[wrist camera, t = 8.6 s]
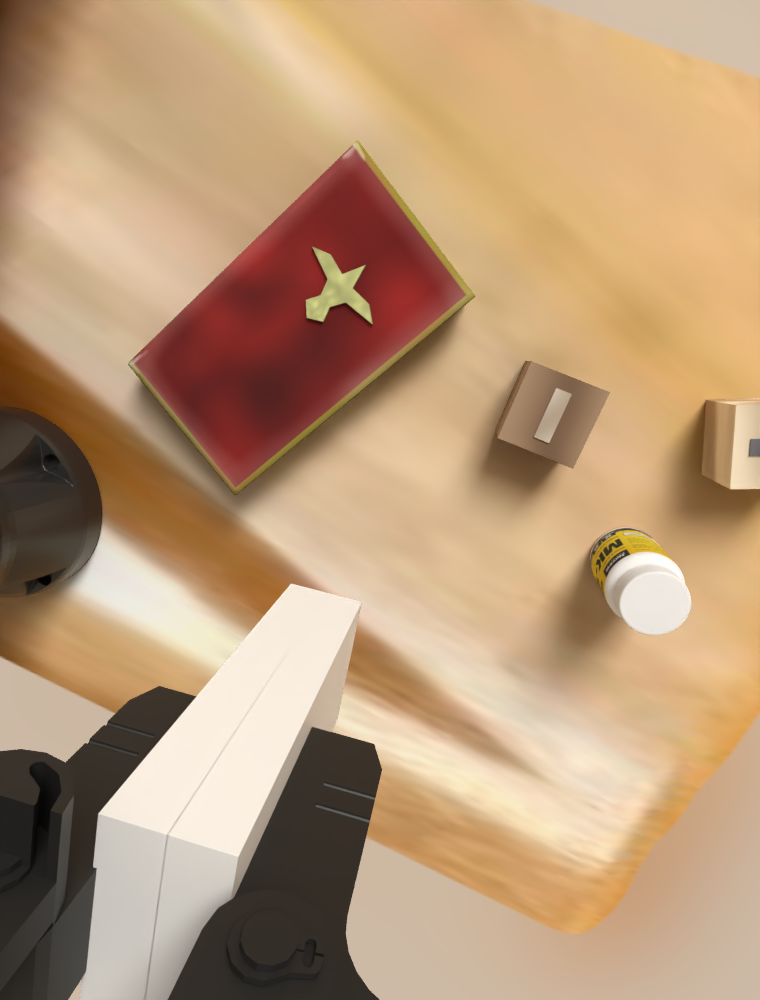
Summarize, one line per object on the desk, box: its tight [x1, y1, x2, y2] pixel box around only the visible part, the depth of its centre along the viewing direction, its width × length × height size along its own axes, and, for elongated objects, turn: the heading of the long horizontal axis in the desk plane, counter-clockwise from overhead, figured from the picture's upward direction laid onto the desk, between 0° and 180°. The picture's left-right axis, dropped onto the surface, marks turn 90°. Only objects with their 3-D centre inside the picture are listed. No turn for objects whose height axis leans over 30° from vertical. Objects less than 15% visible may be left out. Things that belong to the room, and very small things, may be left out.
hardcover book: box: [128, 141, 475, 495], centre depth 42 cm, size 12×21×4 cm, turn 129°
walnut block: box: [496, 361, 610, 468], centre depth 40 cm, size 5×5×5 cm
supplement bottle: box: [590, 527, 691, 635], centre depth 39 cm, size 5×5×8 cm
